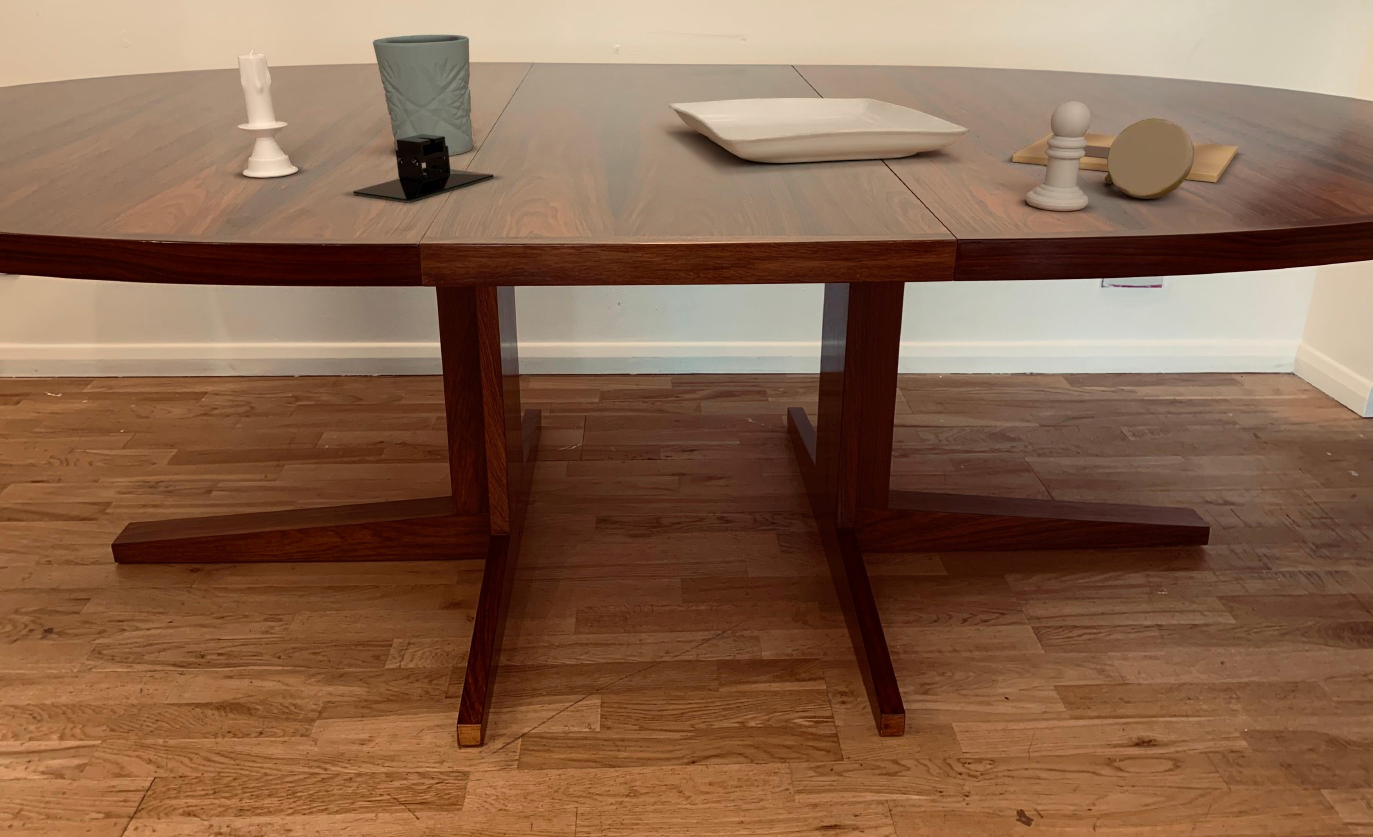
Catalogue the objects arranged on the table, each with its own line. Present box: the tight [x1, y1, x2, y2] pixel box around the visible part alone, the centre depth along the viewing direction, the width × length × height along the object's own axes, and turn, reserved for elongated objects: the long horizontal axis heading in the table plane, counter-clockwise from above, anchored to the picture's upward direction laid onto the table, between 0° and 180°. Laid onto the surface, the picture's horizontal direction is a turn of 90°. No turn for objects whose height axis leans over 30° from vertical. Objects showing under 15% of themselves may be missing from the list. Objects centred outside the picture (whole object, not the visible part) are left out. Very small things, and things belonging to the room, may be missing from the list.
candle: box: [237, 48, 299, 179], centre depth 101 cm, size 5×5×12 cm
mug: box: [1104, 117, 1194, 200], centre depth 94 cm, size 8×10×10 cm
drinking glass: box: [372, 34, 474, 157], centre depth 113 cm, size 10×10×12 cm
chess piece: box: [1025, 100, 1092, 212], centre depth 89 cm, size 5×5×9 cm
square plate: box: [668, 97, 970, 164], centre depth 117 cm, size 27×27×4 cm
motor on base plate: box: [352, 134, 495, 203], centre depth 97 cm, size 12×7×5 cm, turn 152°
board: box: [1011, 132, 1239, 183], centre depth 111 cm, size 20×18×1 cm
